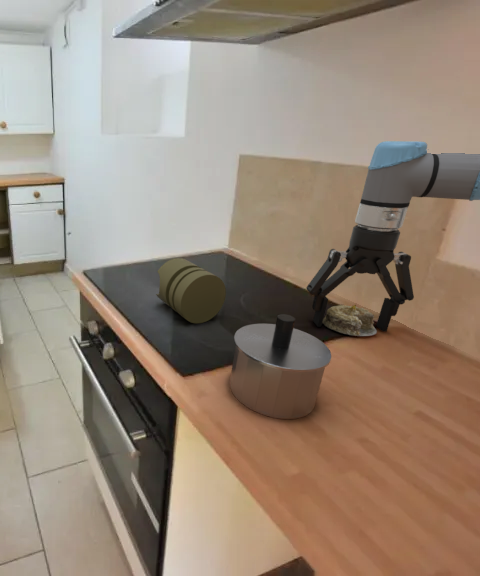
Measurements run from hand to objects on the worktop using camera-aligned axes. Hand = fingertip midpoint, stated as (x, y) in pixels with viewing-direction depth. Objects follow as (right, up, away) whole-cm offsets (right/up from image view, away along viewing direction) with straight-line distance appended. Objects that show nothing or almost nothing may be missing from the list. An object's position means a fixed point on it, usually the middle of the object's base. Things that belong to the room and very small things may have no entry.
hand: (348, 326), depth 81 cm
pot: (-26, -9, -20) cm, 34 cm away
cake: (0, 0, 0) cm, 0 cm away
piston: (-33, +3, +7) cm, 34 cm away
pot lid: (-26, -1, -23) cm, 35 cm away
